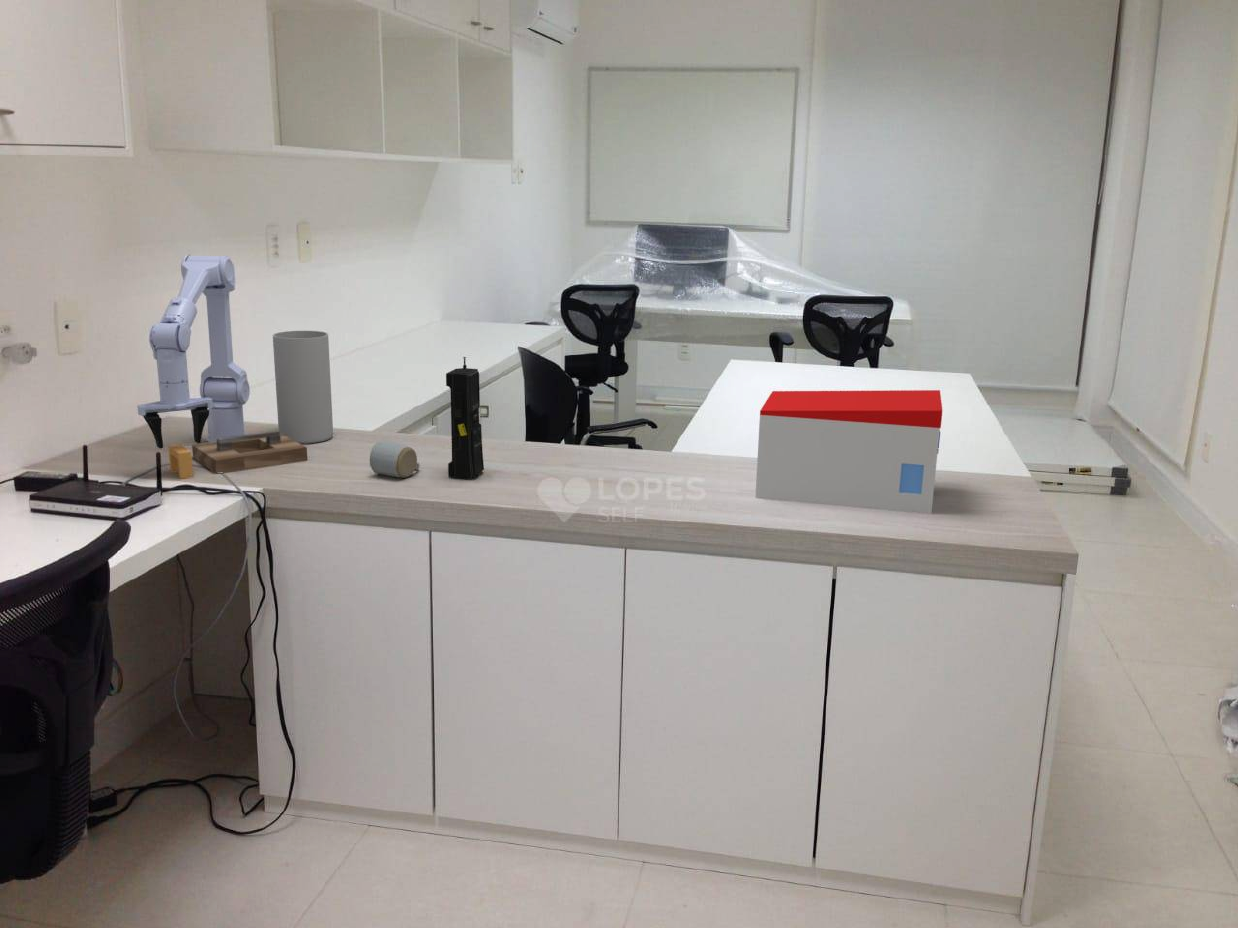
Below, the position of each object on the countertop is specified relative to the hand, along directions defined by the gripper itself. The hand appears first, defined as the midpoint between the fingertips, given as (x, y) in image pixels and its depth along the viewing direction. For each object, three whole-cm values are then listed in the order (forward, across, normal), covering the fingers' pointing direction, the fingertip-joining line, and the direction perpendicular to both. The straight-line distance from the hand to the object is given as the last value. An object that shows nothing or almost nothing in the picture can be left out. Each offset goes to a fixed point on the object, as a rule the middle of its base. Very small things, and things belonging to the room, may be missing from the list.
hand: (179, 444), depth 230 cm
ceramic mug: (+7, +38, -25) cm, 45 cm away
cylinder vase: (+6, +34, +16) cm, 38 cm away
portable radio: (+6, +49, -34) cm, 60 cm away
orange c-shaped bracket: (+6, 0, 0) cm, 6 cm away
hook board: (+6, +16, +4) cm, 18 cm away
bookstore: (+7, +109, -88) cm, 140 cm away
